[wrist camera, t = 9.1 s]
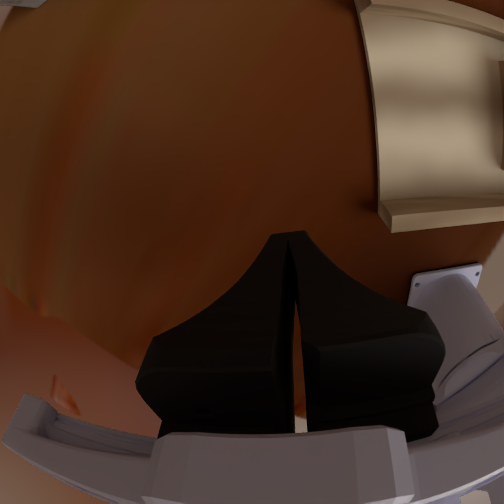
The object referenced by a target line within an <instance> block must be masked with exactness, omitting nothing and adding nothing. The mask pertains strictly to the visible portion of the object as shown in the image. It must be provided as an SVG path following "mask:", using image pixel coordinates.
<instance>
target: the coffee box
mask: <svg viewBox="0 0 504 504" xmlns="http://www.w3.org/2000/svg"><path fill="white" fill-rule="evenodd" d="M46 1H47V0H0V5H6V6H22V7H32V8H38V7H39V6H41V5H42V4H43V3H44V2H46Z"/></svg>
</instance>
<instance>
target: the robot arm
mask: <svg viewBox="0 0 504 504" xmlns="http://www.w3.org/2000/svg"><path fill="white" fill-rule="evenodd" d="M481 271H482V265H481V264H480V263H476V264H470V265H465V266H459V267H453V268H447V269H441V270H435V271H429V272H423V273H417V274H415V275H414V276H413V278H412V282H411V287H410V293H409V298H408V303H407V305H405V304H402V303H399V302H396V301H394V300H392V299H390V298H387V297H385V296H383V295H381V294H379V293H377V292H375V291H373V290H371V289H369V288H367V287H366V286H364V285H362V284H360V283H359V282H357V281H356V280H354V279H353V278H351V277H350V276H348V275H347V274H346V273H344V272H343V271H342V270H341V269H340V268H338V267H337V266H336V265H335V264H334V263H333V262H332V261H331V260H330V259H329V258H328V257H327V256H326V255H325V254H324V253H323V252H322V251H321V250H320V249H319V248H318V247H317V245H316V244H315V243H314V242H313V241H312V239H311V238H310V236H309V235H308V233H307V232H306V231H295V232H287V233H278V234H272V235H271V236H270V237H269V239H268V240H267V242H266V244H265V246H264V247H263V249H262V250H261V252H260V253H259V255H258V256H257V258H256V259H255V261H254V262H253V264H252V265H251V266H250V267H249V269H248V270H247V271H246V272H245V274H244V275H243V276H242V277H241V278H240V279H239V281H238V282H237V283H236V284H235V285H234V286H233V287H231V288H230V289H229V290H228V291H227V292H226V293H225V294H224V295H222V296H221V297H220V298H219V299H217V300H216V301H215V302H214V303H212V304H211V305H210V306H208V307H207V308H206V309H204V310H203V311H201V312H200V313H198V314H197V315H195V316H193V317H192V318H190V319H189V320H187V321H185V322H183V323H182V324H180V325H178V326H176V327H174V328H172V329H170V330H168V331H166V332H164V333H162V334H160V335H158V336H155V337H153V339H152V341H151V343H150V345H149V348H148V350H147V352H146V355H145V357H144V360H143V362H142V365H141V368H140V370H139V373H138V376H137V378H136V381H135V383H136V388H137V391H138V392H139V394H140V395H141V397H142V398H143V400H144V401H145V402H146V403H147V404H148V406H149V407H150V408H151V409H152V410H153V411H154V412H155V413H156V414H157V416H158V417H159V418H160V419H161V420H162V423H161V426H160V430H159V434H158V438H154V437H148V436H143V435H138V434H132V433H128V432H123V431H118V430H114V429H110V428H106V427H102V426H99V425H94V424H91V423H87V422H84V421H81V420H78V419H74V418H71V417H68V416H65V415H62V414H59V413H58V412H57V411H56V410H55V409H54V408H53V407H52V406H51V405H50V404H49V403H47V402H46V401H44V400H43V399H41V398H38V397H35V396H33V395H30V394H27V393H25V394H24V396H23V397H22V399H21V401H20V403H19V405H18V407H17V409H16V411H15V413H14V415H13V417H12V419H11V421H10V423H9V425H8V428H7V430H6V432H5V434H4V436H3V439H2V441H1V442H2V444H3V445H5V446H6V447H8V448H9V449H10V450H12V451H13V452H14V453H16V454H17V455H19V456H20V457H22V458H23V459H25V460H26V461H28V462H29V463H31V464H33V465H34V466H36V467H37V468H39V469H40V470H42V471H44V472H45V473H47V474H49V475H51V476H53V477H54V478H56V479H58V480H60V481H62V482H64V483H66V484H68V485H70V486H72V487H74V488H76V489H78V490H80V491H83V492H85V493H87V494H90V495H92V496H94V497H96V498H99V499H101V500H104V501H106V502H109V503H111V504H461V501H460V497H461V496H463V495H465V494H467V493H470V492H472V491H474V490H482V491H487V492H488V494H489V497H490V501H491V504H504V330H503V329H502V327H501V326H500V324H499V322H498V321H497V319H496V318H495V316H494V314H493V313H492V311H491V310H490V308H489V307H488V305H487V304H486V302H485V301H484V299H483V298H482V297H481V295H480V294H479V292H478V291H477V289H476V287H477V284H478V281H479V278H480V274H481ZM416 283H418V284H416ZM415 284H416V285H415ZM295 300H296V305H297V310H298V316H299V321H300V327H301V345H302V356H303V368H304V380H305V393H306V416H307V431H308V432H306V433H295V414H294V382H293V334H294V316H295ZM432 401H433V402H434V403H435V404H434V405H433V402H432Z"/></svg>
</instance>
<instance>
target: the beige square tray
mask: <svg viewBox="0 0 504 504" xmlns="http://www.w3.org/2000/svg"><path fill="white" fill-rule="evenodd" d="M498 62H499V70H500V79H501V90H502V108H503V145H502V163H501V169H502V170H503V171H504V61H498Z"/></svg>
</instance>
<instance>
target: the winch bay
mask: <svg viewBox="0 0 504 504" xmlns="http://www.w3.org/2000/svg"><path fill="white" fill-rule="evenodd" d="M354 2H355V6H356V10H357V14H358V18H359V23H360V27H361V32H362V37H363V42H364V47H365V53H366V59H367V65H368V71H369V78H370V85H371V93H372V101H373V111H374V121H375V133H376V149H377V171H378V214H379V216H380V217H381V219H382V220H383V221H384V223H385V224H386V226H387V227H388V229H389V230H390V231H391V233H394V232H403V231H412V230H421V229H430V228H440V227H449V226H458V225H467V224H476V223H486V222H495V221H504V171H503V170H502V169H501V163H502V145H503V108H502V90H501V79H500V70H499V62H498V61H504V20H503V19H501V18H498V17H496V16H493V15H491V14H488V13H485V12H483V11H480V10H477V9H474V8H471V7H468V6H465V5H462V4H458V3H455V2H451V1H448V0H354Z"/></svg>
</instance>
